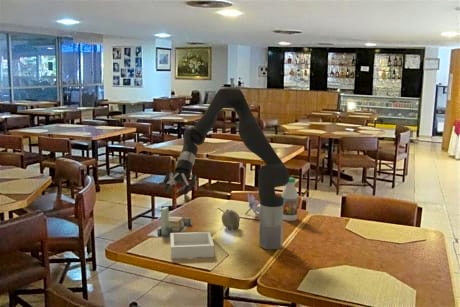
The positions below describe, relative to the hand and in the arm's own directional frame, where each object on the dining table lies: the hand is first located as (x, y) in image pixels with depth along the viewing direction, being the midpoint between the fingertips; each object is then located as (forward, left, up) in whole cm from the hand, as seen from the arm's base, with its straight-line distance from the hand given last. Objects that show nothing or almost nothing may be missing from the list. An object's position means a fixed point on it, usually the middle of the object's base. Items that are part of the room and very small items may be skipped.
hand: (175, 193), depth 211 cm
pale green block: (-10, +5, -15) cm, 19 cm away
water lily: (+15, -39, -16) cm, 45 cm away
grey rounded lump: (-4, -24, -16) cm, 29 cm away
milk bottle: (+8, -54, -16) cm, 57 cm away
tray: (-29, -5, -16) cm, 33 cm away
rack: (-6, +3, -16) cm, 17 cm away
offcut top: (-3, +2, -13) cm, 13 cm away
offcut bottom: (-3, +2, -15) cm, 15 cm away
